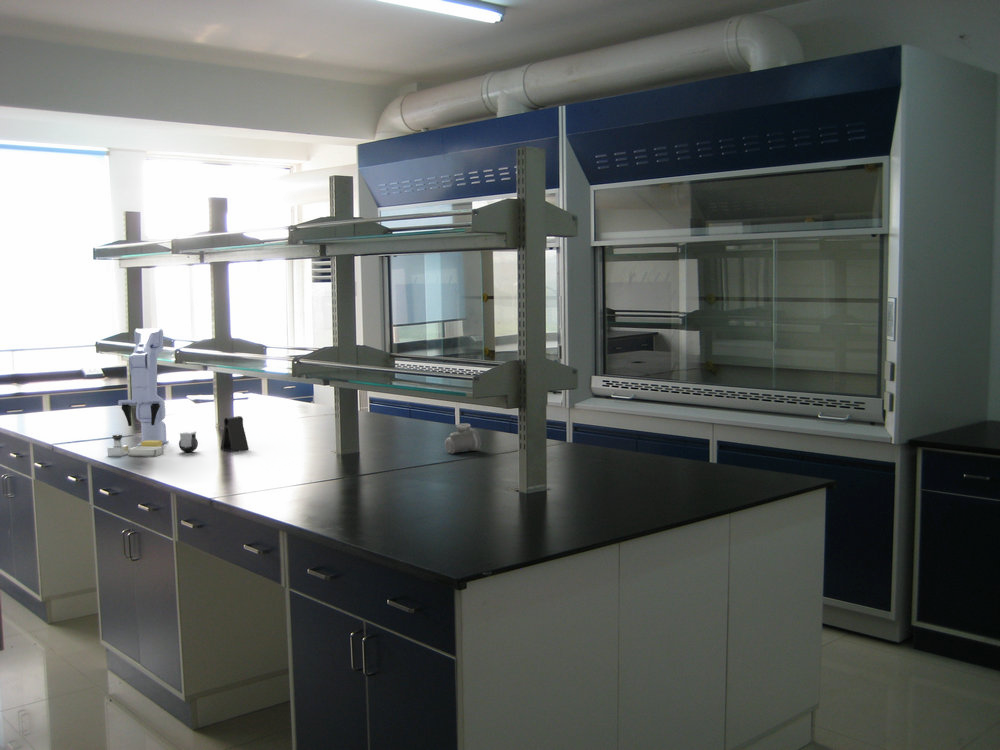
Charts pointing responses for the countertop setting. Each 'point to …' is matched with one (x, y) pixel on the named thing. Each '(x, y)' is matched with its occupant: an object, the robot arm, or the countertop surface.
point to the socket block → (118, 450)
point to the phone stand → (234, 435)
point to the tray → (145, 451)
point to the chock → (152, 443)
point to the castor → (188, 441)
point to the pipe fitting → (463, 439)
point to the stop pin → (117, 440)
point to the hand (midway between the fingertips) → (141, 425)
